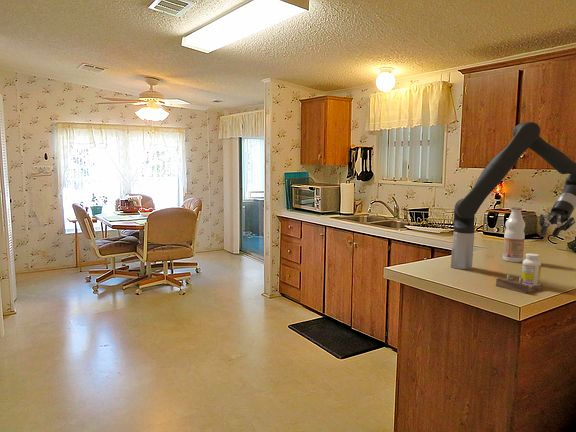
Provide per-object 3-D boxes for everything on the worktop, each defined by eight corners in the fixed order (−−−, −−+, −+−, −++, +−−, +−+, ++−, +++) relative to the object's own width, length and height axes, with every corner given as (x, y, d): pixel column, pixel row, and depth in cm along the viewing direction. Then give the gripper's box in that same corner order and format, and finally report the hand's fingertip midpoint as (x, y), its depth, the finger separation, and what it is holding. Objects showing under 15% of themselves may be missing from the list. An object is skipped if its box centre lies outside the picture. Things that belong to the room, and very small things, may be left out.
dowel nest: (512, 281, 177) (513, 270, 177) (541, 289, 167) (542, 276, 167) (495, 285, 171) (496, 273, 170) (525, 293, 161) (526, 280, 160)
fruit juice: (498, 259, 221) (502, 207, 217) (508, 257, 226) (512, 206, 223) (516, 263, 213) (521, 208, 210) (526, 261, 218) (530, 207, 215)
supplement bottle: (532, 282, 177) (535, 252, 175) (542, 287, 170) (545, 256, 169) (517, 282, 177) (519, 252, 175) (526, 287, 170) (529, 256, 169)
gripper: (544, 198, 186) (527, 227, 181) (580, 201, 174) (563, 231, 169) (549, 209, 190) (533, 238, 185) (585, 213, 178) (568, 243, 173)
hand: (547, 235), depth 177 cm, fingers open, 4 cm apart
